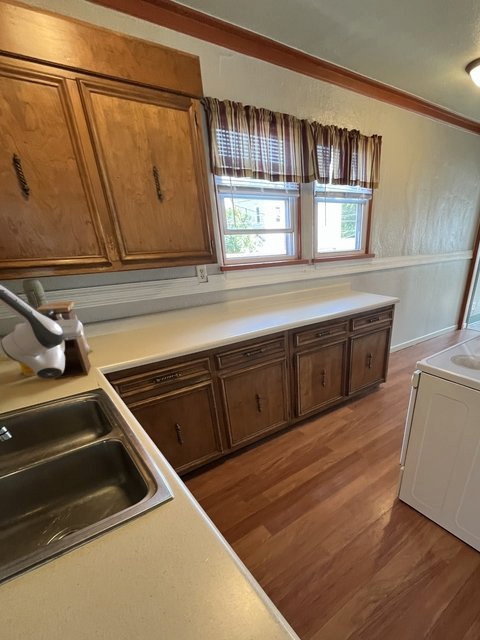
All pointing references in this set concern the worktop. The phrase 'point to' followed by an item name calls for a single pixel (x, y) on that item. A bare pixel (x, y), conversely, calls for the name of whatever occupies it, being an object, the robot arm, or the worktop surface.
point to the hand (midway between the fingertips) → (49, 316)
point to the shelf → (55, 308)
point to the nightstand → (73, 353)
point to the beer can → (27, 370)
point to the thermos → (34, 292)
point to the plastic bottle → (84, 339)
